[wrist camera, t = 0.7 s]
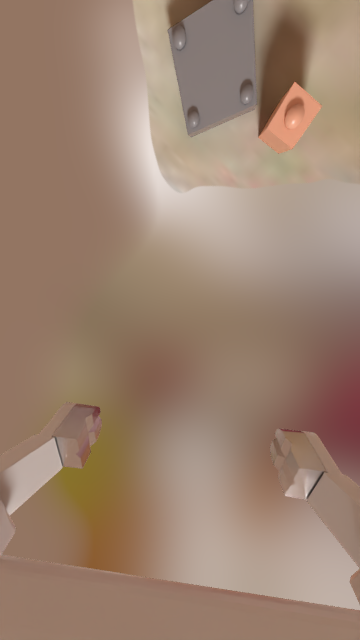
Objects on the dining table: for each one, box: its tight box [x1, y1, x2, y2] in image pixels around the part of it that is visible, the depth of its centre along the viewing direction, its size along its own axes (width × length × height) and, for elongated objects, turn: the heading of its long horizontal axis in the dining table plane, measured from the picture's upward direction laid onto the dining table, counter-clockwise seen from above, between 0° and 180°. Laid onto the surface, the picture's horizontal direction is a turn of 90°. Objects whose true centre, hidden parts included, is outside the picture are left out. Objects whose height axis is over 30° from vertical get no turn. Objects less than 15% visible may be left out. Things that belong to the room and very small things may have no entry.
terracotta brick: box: [258, 82, 322, 154], centre depth 31 cm, size 5×5×11 cm
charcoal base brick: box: [168, 0, 257, 137], centre depth 31 cm, size 12×12×5 cm
